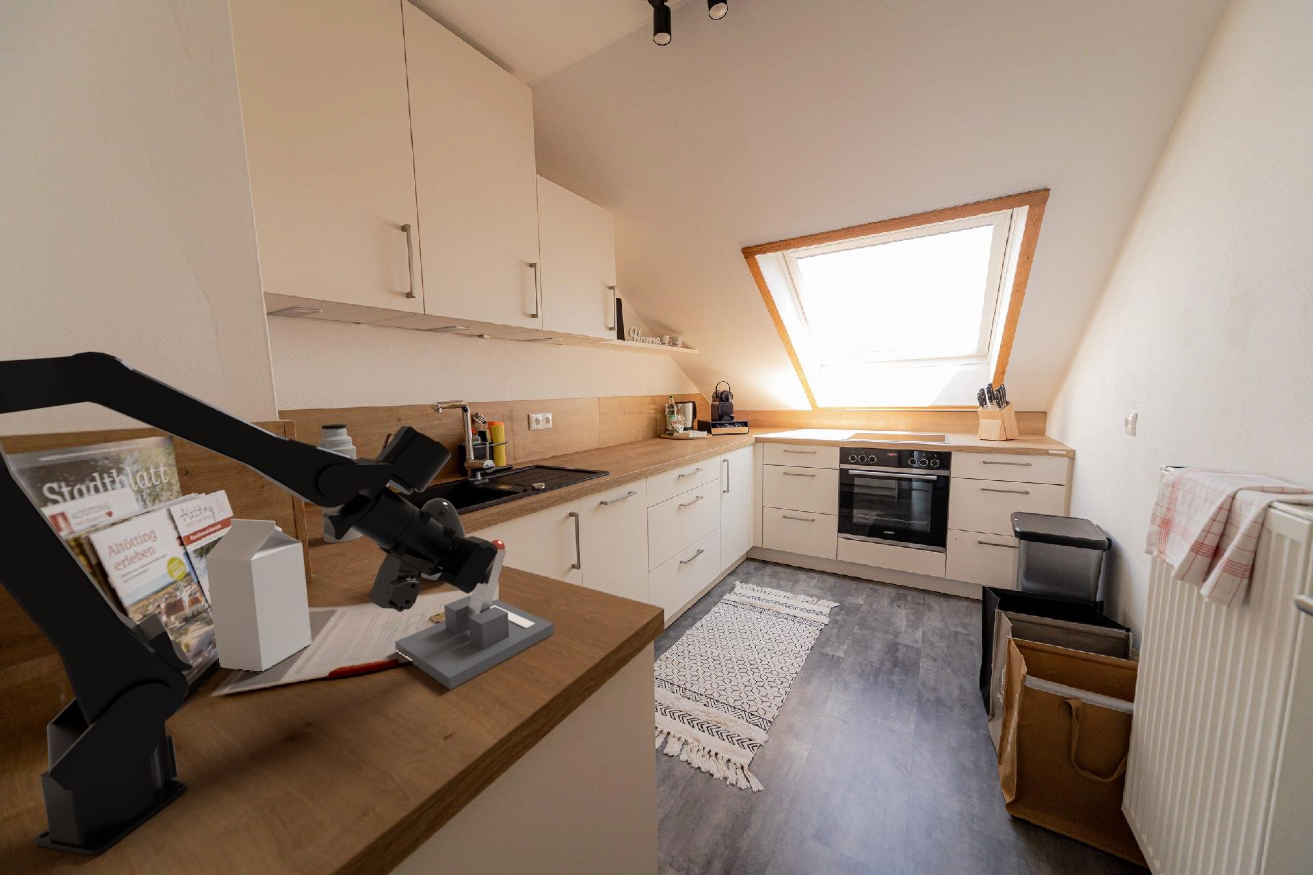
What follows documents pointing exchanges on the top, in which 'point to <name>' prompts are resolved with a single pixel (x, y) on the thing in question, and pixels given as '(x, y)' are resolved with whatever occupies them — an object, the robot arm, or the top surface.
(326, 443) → the thermos bottle
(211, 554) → the milk carton
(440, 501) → the grey egg shaped device
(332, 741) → the top surface
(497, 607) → the switch box
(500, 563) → the switch lever
